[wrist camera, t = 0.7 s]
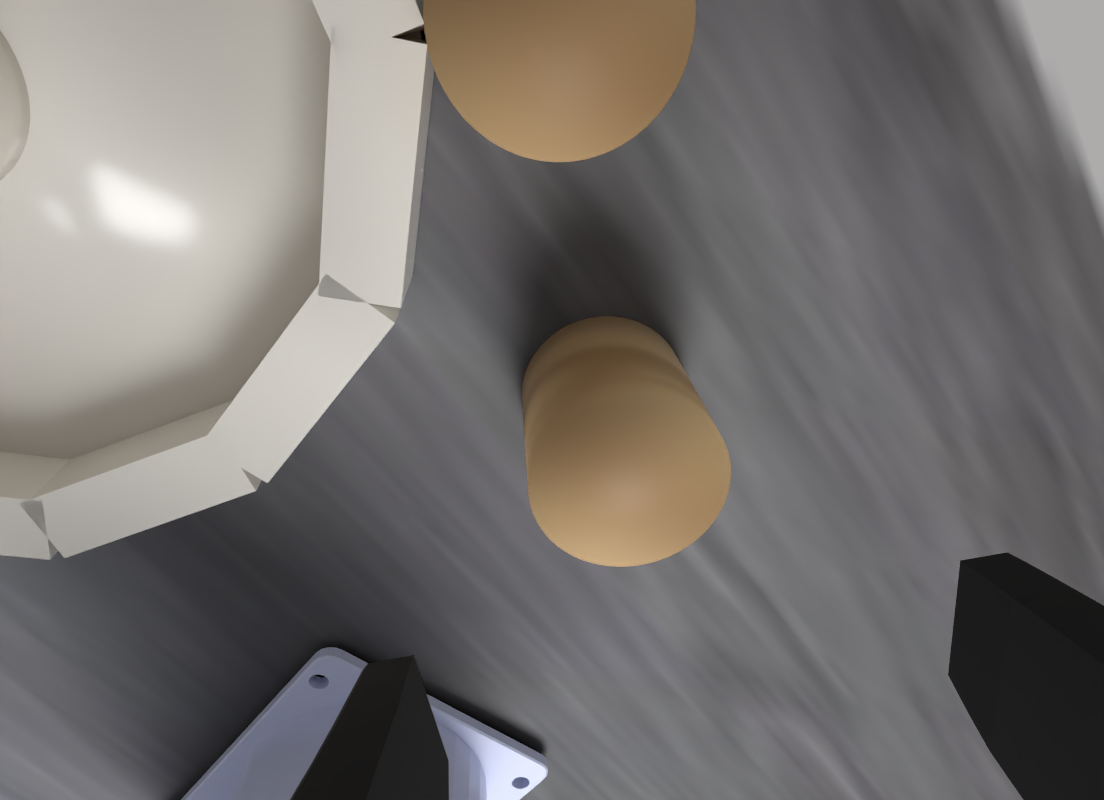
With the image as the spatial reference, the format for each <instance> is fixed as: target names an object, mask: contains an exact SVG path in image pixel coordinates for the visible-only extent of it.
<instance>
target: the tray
mask: <svg viewBox="0 0 1104 800" xmlns="http://www.w3.org/2000/svg"><path fill="white" fill-rule="evenodd" d="M422 30H424V18H423V0H0V555H5V556H15V557H26V558H36V559H46V560H51V559H52V557H53V556H54V555H55V554H56V553H57V552H58V551H59V552H60V553H61V555H62V556H63V557H64V558H67V557H70V556H73V555H76V554H78V553H81V552H84V551H87V550H90V549H93V548H96V547H98V546H101V545H104V544H107V543H110V542H113V541H115V540H118V539H121V538H124V537H127V536H130V535H133V534H135V533H138V532H141V531H144V530H147V529H150V528H152V527H155V526H158V525H161V524H164V523H167V522H170V521H172V520H175V519H178V518H181V517H184V516H187V515H189V514H192V513H195V512H198V511H201V510H204V509H206V508H209V507H212V506H215V505H218V504H221V503H224V502H226V501H229V500H232V499H235V498H238V497H241V496H243V495H246V494H249V493H252V492H255V491H256V490H257V488H258V486H259V485H260V483H261V481H262V480H263V481H265V482H266V483H268V482H269V481H270V480H271V478H272V477H273V476H274V475H275V473H276V472H277V471H278V470H279V468H280V467H281V466H282V465H283V463H284V462H285V461H286V460H287V458H288V457H289V456H290V455H291V453H292V452H293V451H294V450H295V448H296V447H297V446H298V445H299V443H300V442H301V441H302V439H303V438H304V437H305V436H306V434H307V433H308V432H309V431H310V429H311V428H312V427H313V426H314V424H315V423H316V422H317V421H318V419H319V418H320V417H321V416H322V414H323V413H324V412H325V411H326V409H327V408H328V407H329V406H330V404H331V403H332V402H333V401H334V399H335V398H336V397H337V395H338V394H339V393H340V392H341V390H342V389H343V388H344V387H345V385H346V384H347V383H348V382H349V380H350V379H351V378H352V377H353V375H354V374H355V373H356V372H357V370H358V369H359V368H360V367H361V365H362V364H363V363H364V362H365V360H366V359H367V358H368V357H369V355H370V354H371V353H372V352H373V350H374V349H375V348H376V346H377V345H378V344H379V343H380V341H381V340H382V339H383V338H384V336H385V335H386V334H387V333H388V331H389V330H390V329H391V328H392V326H393V325H394V324H395V322H396V319H397V316H398V314H399V311H400V308H401V307H402V304H403V301H404V298H405V295H406V293H407V290H408V287H409V284H410V281H411V278H412V275H413V269H414V260H415V250H416V240H417V231H418V221H419V212H420V202H421V193H422V183H423V174H424V164H425V154H426V145H427V135H428V126H429V116H430V107H431V97H432V88H433V78H434V67H433V64H432V61H431V58H430V55H429V52H428V47H427V42H426V41H423V40H421V32H420V31H422Z"/></svg>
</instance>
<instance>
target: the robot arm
mask: <svg viewBox="0 0 1104 800" xmlns="http://www.w3.org/2000/svg"><path fill="white" fill-rule="evenodd" d="M316 675H323V676H325V677H323V678H321V677H317V676H316ZM948 675H949V677H950V679H951V681H952V683H953V685H954V687H955V689H956V690H957V692H958V694H959V696H960V698H961V700H962V702H963V704H964V706H965V707H966V709H967V711H968V713H969V715H970V717H971V719H972V720H973V722H974V724H975V726H976V727H977V729H978V731H979V733H980V734H981V736H982V738H983V740H984V742H985V743H986V745H987V747H988V749H989V750H990V752H991V753H992V755H993V756H994V758H995V759H996V761H997V762H998V764H999V765H1000V766H1001V768H1002V769H1003V771H1004V772H1005V774H1006V775H1007V777H1008V778H1009V779H1010V781H1011V782H1012V784H1013V785H1014V787H1015V788H1016V789H1017V791H1018V792H1019V794H1020V795H1021V797H1022V798H1023V799H1024V800H1104V606H1103V605H1101V604H1100V603H1098V602H1096V601H1094V600H1093V599H1091V598H1089V597H1087V596H1085V595H1084V594H1082V593H1080V592H1078V591H1077V590H1075V589H1073V588H1071V587H1070V586H1068V585H1066V584H1064V583H1062V582H1061V581H1059V580H1057V579H1055V578H1054V577H1052V576H1050V575H1048V574H1046V573H1045V572H1043V571H1041V570H1039V569H1037V568H1035V567H1034V566H1032V565H1030V564H1028V563H1026V562H1024V561H1022V560H1021V559H1019V558H1017V557H1015V556H1013V555H1011V554H1009V553H1002V554H996V555H991V556H985V557H979V558H973V559H967V560H962V561H960V570H959V579H958V589H957V598H956V607H955V617H954V626H953V635H952V645H951V654H950V663H949V673H948ZM547 773H548V764H547V760H546V757H544V756H543V755H542V754H540V753H538V752H536V751H535V750H533V749H531V748H529V747H527V746H525V745H523V744H521V743H519V742H517V741H515V740H514V739H512V738H510V737H508V736H506V735H504V734H502V733H500V732H498V731H496V730H494V729H493V728H491V727H489V726H487V725H485V724H483V723H481V722H479V721H477V720H475V719H473V718H472V717H470V716H468V715H466V714H464V713H462V712H460V711H458V710H456V709H454V708H452V707H451V706H449V705H447V704H445V703H443V702H441V701H439V700H437V699H435V698H433V697H431V696H430V695H428V694H426V691H425V688H424V685H423V682H422V679H421V676H420V673H419V670H418V667H417V664H416V661H415V658H414V655H413V656H407V657H401V658H396V659H390V660H384V661H378V662H373V663H367V662H365V661H363V660H361V659H359V658H357V657H355V656H353V655H351V654H349V653H347V652H346V651H344V650H342V649H339V648H336V647H326V648H323V649H320V650H319V651H317V652H316V653H315V654H314V655H313V656H312V657H311V658H310V660H309V661H308V662H307V663H306V664H305V665H304V666H303V667H302V668H301V669H300V670H299V672H298V673H297V674H296V675H295V676H294V677H293V678H292V679H291V680H290V681H289V682H288V684H287V685H286V686H285V687H284V688H283V689H282V690H281V691H280V692H279V693H278V694H277V696H276V697H275V698H274V699H273V700H272V701H271V702H270V703H269V704H268V705H267V706H266V707H265V709H264V710H263V711H262V712H261V713H260V714H259V715H258V716H257V717H256V718H255V719H254V721H253V722H252V723H251V724H250V725H249V726H248V727H247V728H246V729H245V730H244V731H243V733H242V734H241V735H240V736H239V737H238V738H237V739H236V740H235V741H234V742H233V743H232V745H231V746H230V747H229V748H228V749H227V750H226V751H225V752H224V753H223V754H222V755H221V757H220V758H219V759H218V760H217V761H216V762H215V763H214V764H213V765H212V766H211V767H210V768H209V770H208V771H207V772H206V773H205V774H204V775H203V776H202V777H201V778H200V779H199V780H198V782H197V783H196V784H195V785H194V786H193V787H192V788H191V789H190V790H189V791H188V792H187V794H186V795H185V796H184V797H183V798H182V799H181V800H520V799H521V798H522V797H523V796H525V795H526V794H527V793H528V792H529V791H530V790H532V789H533V788H534V787H535V786H536V785H537V784H539V783H540V782H541V781H542V780H543V779H544V778H545V777H546V776H547Z"/></svg>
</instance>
